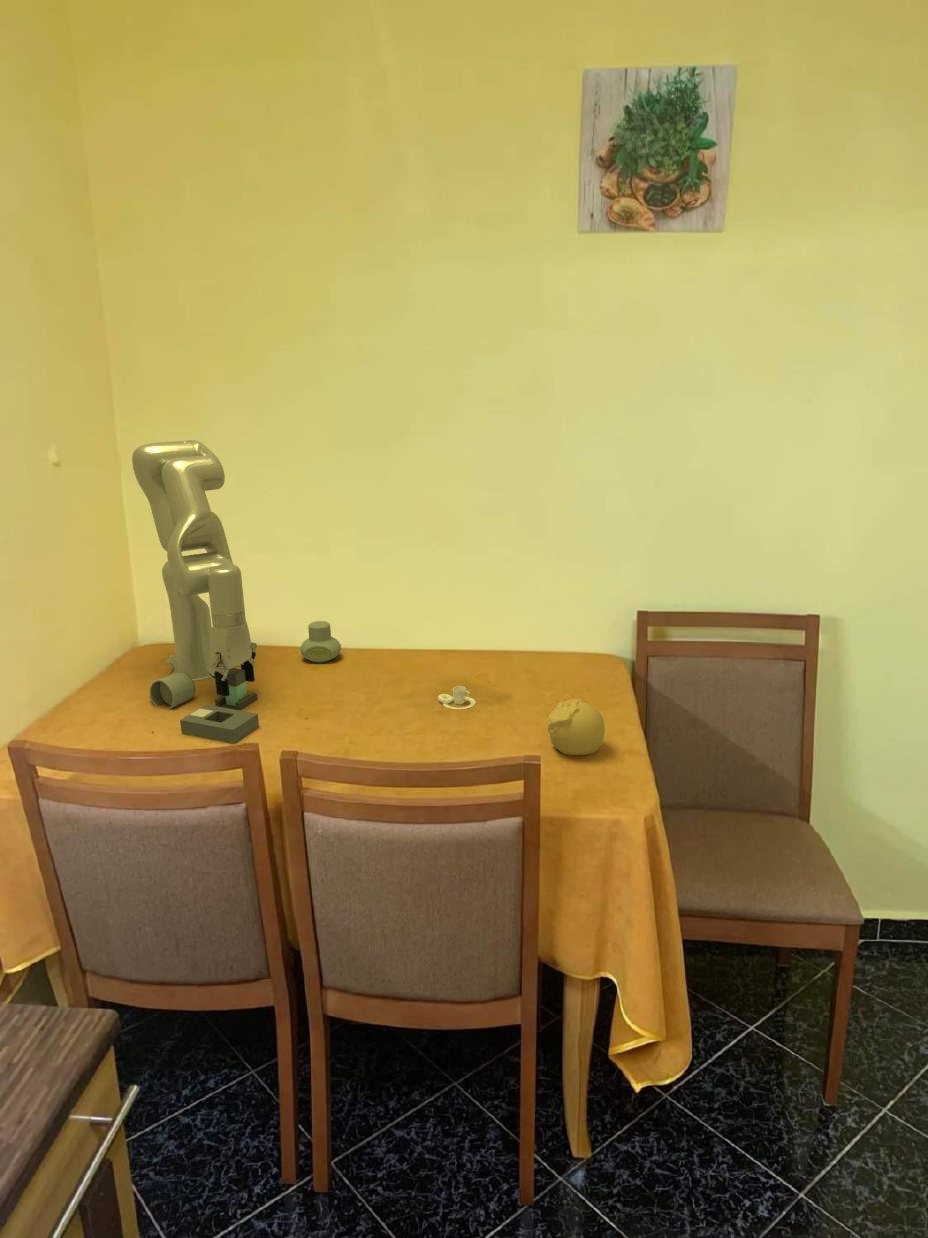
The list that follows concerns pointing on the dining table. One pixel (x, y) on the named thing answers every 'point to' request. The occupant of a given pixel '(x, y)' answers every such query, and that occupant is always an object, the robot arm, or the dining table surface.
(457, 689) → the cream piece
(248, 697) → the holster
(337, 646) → the air freshener
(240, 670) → the plug
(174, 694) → the ceramic mug
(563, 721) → the sculpture
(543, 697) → the dining table surface
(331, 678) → the dining table surface
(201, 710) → the port panel
